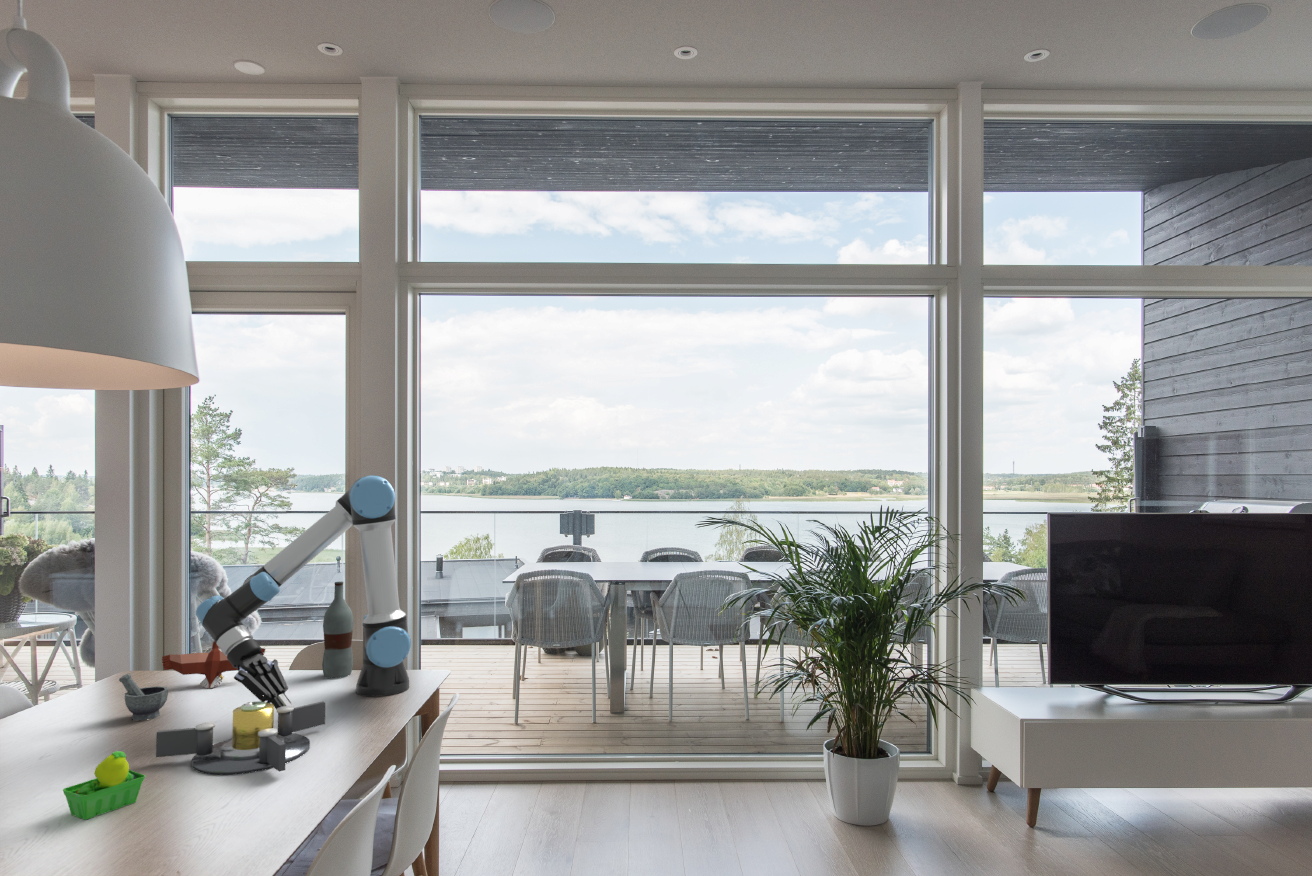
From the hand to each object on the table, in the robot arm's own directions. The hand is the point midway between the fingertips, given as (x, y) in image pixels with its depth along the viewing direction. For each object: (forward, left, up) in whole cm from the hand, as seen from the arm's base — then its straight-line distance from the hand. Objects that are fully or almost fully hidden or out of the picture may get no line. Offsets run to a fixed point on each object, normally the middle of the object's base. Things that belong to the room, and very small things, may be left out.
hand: (292, 717), depth 190 cm
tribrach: (+5, +16, -3) cm, 17 cm away
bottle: (-3, -54, -3) cm, 54 cm away
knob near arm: (-3, +5, -2) cm, 6 cm away
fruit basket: (+25, +40, -3) cm, 47 cm away
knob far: (+19, +16, -2) cm, 25 cm away
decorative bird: (+33, -54, -3) cm, 63 cm away
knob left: (-2, +28, -2) cm, 28 cm away
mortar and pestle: (+41, -22, -3) cm, 47 cm away
